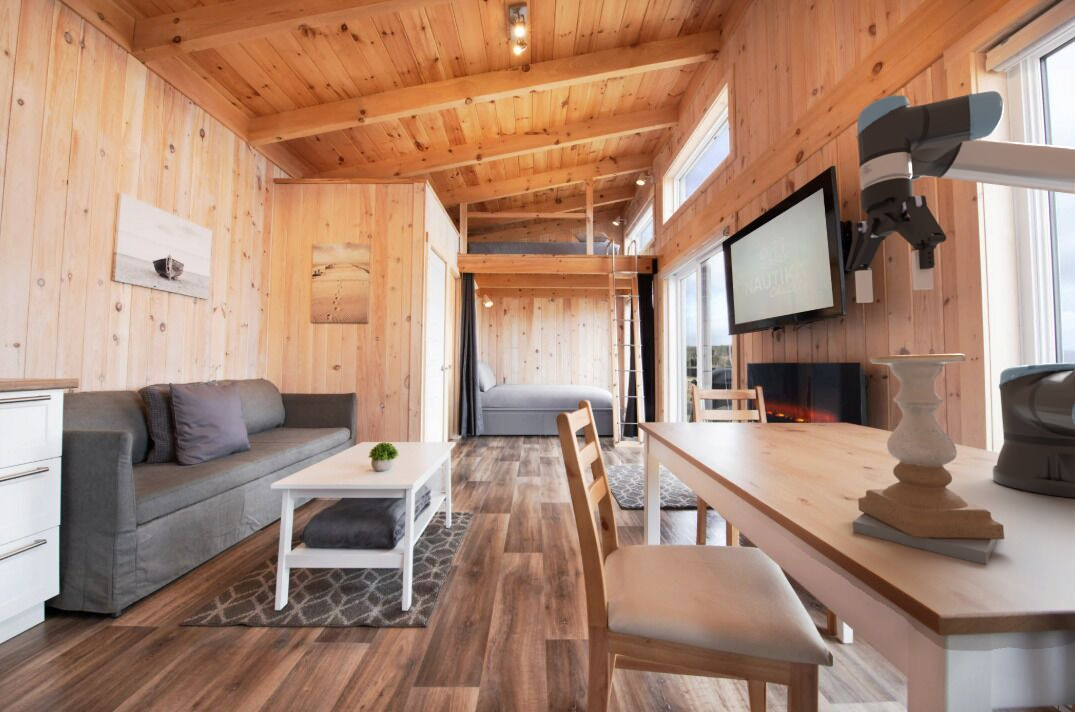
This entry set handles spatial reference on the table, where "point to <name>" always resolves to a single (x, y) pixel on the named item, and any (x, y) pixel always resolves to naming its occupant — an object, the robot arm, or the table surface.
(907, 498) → the candle holder
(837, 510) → the table surface
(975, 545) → the slate tile
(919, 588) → the table surface
